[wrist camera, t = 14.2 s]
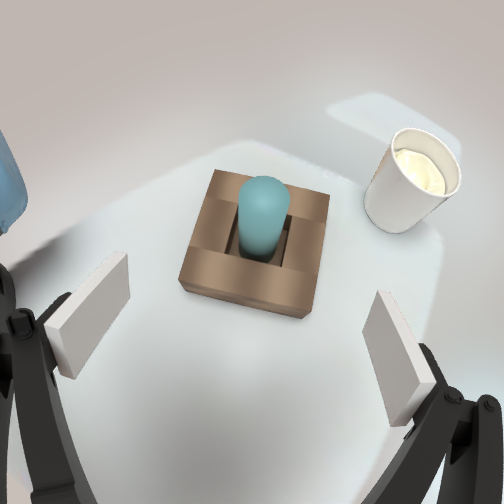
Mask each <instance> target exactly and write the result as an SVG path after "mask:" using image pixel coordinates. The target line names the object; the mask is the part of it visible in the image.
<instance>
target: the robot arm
mask: <svg viewBox="0 0 504 504" xmlns="http://www.w3.org/2000/svg"><path fill="white" fill-rule="evenodd" d="M27 202H28V196H27V190H26V187H25V184H24V181H23V178H22V176H21V173H20V171H19V168H18V166H17V164H16V162H15V159H14V157H13V155H12V152H11V150H10V148H9V146H8V144H7V142H6V140H5V138H4V136H3V134H2V132H1V130H0V236H1V235H2V234H3V233H7V231H8V228H9V227H10V226H11V225H12V224H13V223H14V222H15V221H16V220H17V219H18V218H19V217H20V216H21V215H22V213H23V212H24V211H25V209H26V206H27ZM129 299H130V291H129V277H128V260H127V253H121V252H115V251H114V252H113V253H112V254H111V255H110V256H109V257H108V258H107V259H106V260H105V261H104V262H103V263H102V264H101V265H100V266H99V267H98V268H97V269H96V270H95V271H94V272H93V273H92V274H91V275H90V276H89V277H88V278H87V279H86V280H85V281H84V282H83V283H82V284H81V285H80V286H79V287H78V288H77V289H76V290H75V291H74V292H73V293H70V292H67V293H65V294H63V295H61V296H59V297H58V298H57V299H56V300H55V301H54V302H53V304H51V305H50V306H49V307H48V309H46V310H45V312H44V313H43V314H42V315H41V316H40V317H39V318H38V319H37V320H36V321H35V317H34V314H33V312H32V311H31V310H30V309H27V308H19V309H16V310H15V292H14V286H13V282H12V279H11V277H10V274H9V273H8V271H7V269H6V268H5V267H4V266H3V265H2V264H0V504H7V487H6V485H7V484H6V483H7V482H6V481H7V450H8V436H9V426H10V417H11V409H12V401H13V395H14V393H15V402H16V409H17V416H18V423H19V429H20V434H21V439H22V444H23V449H24V454H25V458H26V462H27V466H28V470H29V474H30V478H31V482H32V485H33V492H32V493H31V497H30V498H31V502H32V504H97V502H96V500H95V498H94V495H93V493H92V491H91V488H90V486H89V484H88V481H87V479H86V476H85V474H84V471H83V469H82V466H81V464H80V461H79V458H78V455H77V453H76V450H75V447H74V444H73V441H72V438H71V435H70V432H69V429H68V425H67V422H66V419H65V415H64V412H63V408H62V404H61V400H60V397H59V393H58V388H57V384H56V380H55V376H54V373H53V370H54V369H55V367H56V366H57V367H58V369H59V372H60V375H63V376H65V377H68V378H71V379H74V380H75V379H76V377H77V376H78V374H79V373H80V371H81V369H82V368H83V366H84V365H85V363H86V362H87V360H88V359H89V357H90V356H91V354H92V352H93V351H94V349H95V348H96V346H97V345H98V343H99V342H100V340H101V339H102V337H103V336H104V335H105V333H106V332H107V330H108V329H109V327H110V326H111V324H112V323H113V321H114V320H115V318H116V317H117V316H118V314H119V313H120V311H121V310H122V308H123V307H124V306H125V304H126V303H127V301H128V300H129ZM362 333H363V336H364V339H365V342H366V345H367V348H368V351H369V355H370V358H371V361H372V364H373V367H374V371H375V374H376V377H377V381H378V384H379V387H380V391H381V394H382V398H383V401H384V405H385V408H386V412H387V416H388V419H389V423H390V427H397V426H406V425H407V424H408V422H409V421H410V420H411V418H413V421H414V426H413V427H412V428H411V430H410V431H409V432H408V433H407V435H406V436H405V437H404V442H403V443H402V445H401V447H400V448H399V450H398V452H397V453H396V455H395V456H394V458H393V459H392V461H391V462H390V464H389V466H388V467H387V469H386V470H385V471H384V473H383V475H382V476H381V477H380V479H379V480H378V482H377V483H376V485H375V486H374V487H373V489H372V490H371V491H370V493H369V494H368V495H367V497H366V498H365V499H364V501H363V502H362V503H361V504H421V502H422V501H423V499H424V497H425V495H426V493H427V491H428V489H429V487H430V485H431V483H432V481H433V479H434V477H435V475H436V473H437V471H438V469H439V467H440V465H441V462H442V460H443V458H444V456H445V453H446V456H445V463H444V469H443V475H442V480H441V485H440V490H439V495H438V500H437V504H501V502H502V490H503V425H502V412H501V406H500V403H499V402H498V400H497V399H495V398H494V397H493V396H491V395H486V394H485V395H482V396H481V397H480V398H479V399H478V401H477V402H474V401H469V400H465V399H464V397H463V395H462V394H461V392H460V391H459V390H457V389H456V388H454V387H451V386H448V384H447V382H446V380H445V378H444V376H443V374H442V372H441V370H440V368H439V367H438V364H437V362H436V360H434V359H435V358H434V356H433V354H432V352H431V351H430V349H428V347H426V345H424V344H423V343H417V341H416V339H415V337H414V335H413V333H412V331H411V329H410V327H409V325H408V323H407V321H406V320H405V318H404V316H403V314H402V312H401V310H400V308H399V307H398V305H397V303H396V301H395V299H394V297H393V296H392V294H391V292H388V291H380V290H377V293H376V296H375V299H374V302H373V304H372V307H371V310H370V313H369V315H368V318H367V321H366V323H365V326H364V328H363V331H362Z"/></svg>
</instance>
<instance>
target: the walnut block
mask: <svg viewBox="0 0 504 504" xmlns="http://www.w3.org/2000/svg"><path fill="white" fill-rule="evenodd" d="M251 178H254V177H251V176H246V175H241V174H237V173H232V172H227V171H222V170H216V169H215V170H214V173H213V176H212V179H211V182H210V184H209V187H208V190H207V193H206V196H205V199H204V201H203V204H202V207H201V210H200V213H199V216H198V219H197V222H196V225H195V228H194V231H193V234H192V237H191V240H190V243H189V246H188V249H187V252H186V255H185V259H184V262H183V265H182V268H181V271H180V275H179V278H178V280H179V282H180V283H181V285H182V286H183V288H184V289H185V291H188V292H192V293H196V294H199V295H203V296H207V297H211V298H215V299H219V300H223V301H227V302H231V303H235V304H239V305H244V306H248V307H252V308H256V309H261V310H265V311H269V312H274V313H278V314H282V315H287V316H292V317H296V318H301V319H302V318H304V317H305V316H306V315H307V314H309V313H310V312H311V310H312V305H313V299H314V294H315V288H316V283H317V277H318V271H319V265H320V259H321V253H322V247H323V240H324V234H325V227H326V220H327V213H328V206H329V199H330V195H328V194H324V193H320V192H316V191H312V190H308V189H304V188H300V187H295V186H291V185H287V184H284V185H285V186H286V188H287V189H288V191H289V194H290V204H289V207H288V211H287V214H286V218H285V221H284V224H283V228H282V231H281V234H280V238H279V241H278V244H277V248H276V251H275V254H274V257H273V258H272V260H271V261H270V262H268V263H267V264H266V263H261V262H257V261H253V260H249V259H244V258H241V256H240V254H239V242H238V196H239V191H240V189H241V187H242V185H243V184H244V183H245V182H246V181H248V180H249V179H251Z"/></svg>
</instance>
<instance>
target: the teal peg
mask: <svg viewBox="0 0 504 504" xmlns="http://www.w3.org/2000/svg"><path fill="white" fill-rule="evenodd" d="M289 204H290V194H289V191H288V189H287V188H286V186H285V185H284V184H283V183H282V182H280V181H279V180H277V179H275V178H273V177H269V176H257V177H254V178H251V179H249V180H248V181H246V182H245V183H244V184H243V185H242V187H241V189H240V191H239V196H238V242H239V254H240V256H241V258H244V259H249V260H253V261H257V262H261V263H266V264H267V263H268V262H270V261H271V260H272V258H273V257H274V254H275V251H276V248H277V244H278V241H279V238H280V234H281V231H282V228H283V224H284V221H285V218H286V214H287V211H288V207H289Z"/></svg>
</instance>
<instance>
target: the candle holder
mask: <svg viewBox="0 0 504 504" xmlns="http://www.w3.org/2000/svg"><path fill="white" fill-rule="evenodd" d="M460 184H461V171H460V167H459V165H458V162H457V160H456V158H455V156H454V155H453V153H452V152H451V151H450V149H449V148H448V147H447V146H446V145H445V144H444V143H443V142H442V141H441V140H440V139H438V138H437V137H435V136H434V135H432V134H431V133H429V132H427V131H424V130H421V129H418V128H404V129H401V130H399V131H398V132H396V133H395V134H394V136H393V138H392V140H391V143H390V145H389V147H388V149H387V151H386V153H385V155H384V157H383V159H382V161H381V163H380V165H379V167H378V169H377V171H376V173H375V175H374V177H373V179H372V181H371V183H370V185H369V187H368V189H367V191H366V193H365V197H364V205H365V210H366V212H367V214H368V216H369V218H370V219H371V221H372V222H373V223H374V224H375V225H376V226H377V227H379V228H380V229H382V230H384V231H386V232H389V233H402V232H405V231H407V230H408V229H410V228H411V227H413V226H414V225H415V224H417V223H418V222H419V221H420V220H422V219H423V218H424V217H426V216H427V215H428V214H429V213H431V212H432V211H433V210H434V209H436V208H437V207H438V206H439V205H440V204H442V203H443V202H444V201H446V200H447V199H448V198H449V197H451V196H452V195H454V194H455V193H456V192H457V191H458V189H459V187H460Z"/></svg>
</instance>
